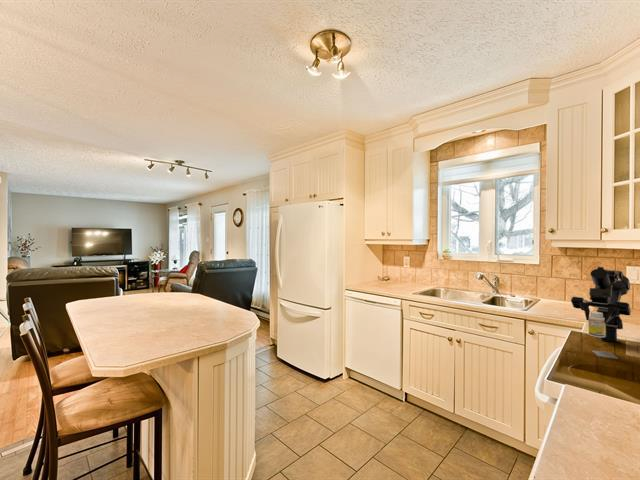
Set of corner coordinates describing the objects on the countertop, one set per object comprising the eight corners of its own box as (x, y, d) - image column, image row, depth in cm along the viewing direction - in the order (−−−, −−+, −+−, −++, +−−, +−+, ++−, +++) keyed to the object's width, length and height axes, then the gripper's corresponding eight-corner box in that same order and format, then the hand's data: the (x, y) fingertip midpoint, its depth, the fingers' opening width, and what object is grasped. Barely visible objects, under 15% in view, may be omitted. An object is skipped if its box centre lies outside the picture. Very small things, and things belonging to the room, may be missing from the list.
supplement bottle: (596, 333, 132) (596, 310, 132) (609, 337, 127) (609, 313, 127) (585, 334, 132) (584, 311, 132) (597, 338, 126) (597, 314, 126)
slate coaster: (591, 351, 127) (591, 350, 127) (610, 353, 124) (610, 352, 124) (598, 356, 121) (598, 355, 121) (617, 359, 119) (617, 358, 119)
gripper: (571, 279, 139) (564, 306, 133) (628, 283, 124) (623, 314, 118) (577, 293, 144) (570, 320, 137) (632, 299, 129) (627, 330, 122)
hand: (596, 321), depth 129 cm, fingers closed on supplement bottle, 5 cm apart
